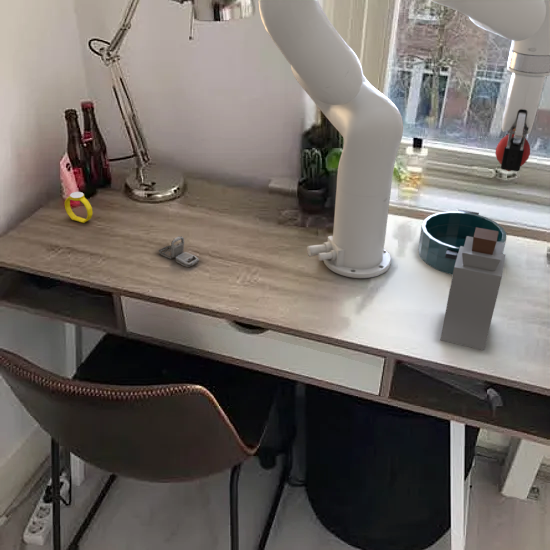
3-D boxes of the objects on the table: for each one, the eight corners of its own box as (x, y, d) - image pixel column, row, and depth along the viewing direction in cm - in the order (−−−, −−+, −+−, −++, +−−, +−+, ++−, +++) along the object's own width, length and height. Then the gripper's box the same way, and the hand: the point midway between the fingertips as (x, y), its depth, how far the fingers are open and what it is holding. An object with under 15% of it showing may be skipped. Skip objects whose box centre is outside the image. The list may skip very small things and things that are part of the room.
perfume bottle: (440, 340, 102) (459, 240, 92) (446, 316, 107) (465, 220, 98) (484, 350, 100) (508, 249, 90) (488, 325, 105) (511, 228, 96)
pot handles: (467, 262, 114) (468, 257, 114) (444, 257, 115) (445, 253, 115) (478, 216, 129) (479, 212, 129) (457, 213, 130) (458, 209, 130)
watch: (64, 220, 134) (59, 194, 131) (72, 215, 136) (68, 189, 133) (88, 226, 132) (83, 200, 129) (96, 220, 134) (92, 194, 131)
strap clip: (200, 262, 121) (199, 242, 118) (188, 268, 119) (187, 248, 116) (169, 247, 125) (167, 227, 123) (157, 253, 123) (155, 233, 121)
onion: (521, 165, 121) (530, 123, 117) (528, 177, 116) (538, 135, 112) (489, 163, 122) (497, 122, 117) (495, 176, 117) (503, 133, 113)
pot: (443, 281, 116) (447, 255, 114) (404, 241, 129) (408, 216, 126) (517, 269, 120) (523, 244, 117) (472, 231, 133) (477, 207, 130)
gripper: (509, 48, 116) (491, 143, 126) (506, 73, 103) (486, 178, 112) (554, 51, 114) (532, 148, 124) (557, 77, 101) (532, 184, 110)
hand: (510, 161), depth 118 cm, fingers closed on onion, 5 cm apart
